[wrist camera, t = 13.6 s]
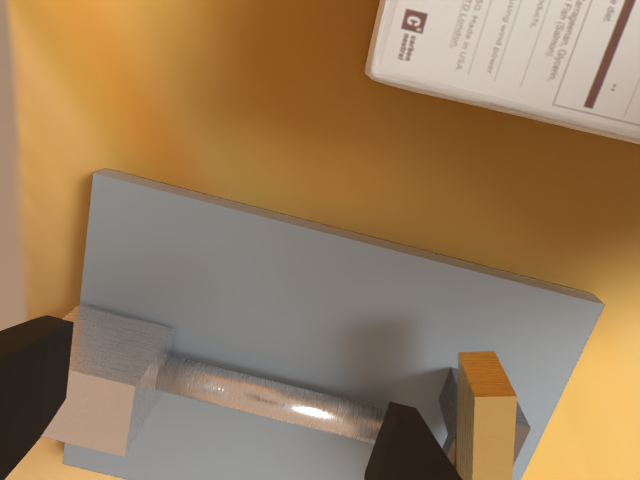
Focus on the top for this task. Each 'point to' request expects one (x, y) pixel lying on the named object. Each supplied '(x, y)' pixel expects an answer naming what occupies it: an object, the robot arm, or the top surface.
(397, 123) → the top surface
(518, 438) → the grey block
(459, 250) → the top surface
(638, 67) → the supplement box
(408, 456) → the robot arm
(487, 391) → the ball knob lever
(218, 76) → the top surface
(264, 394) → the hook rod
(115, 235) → the board
